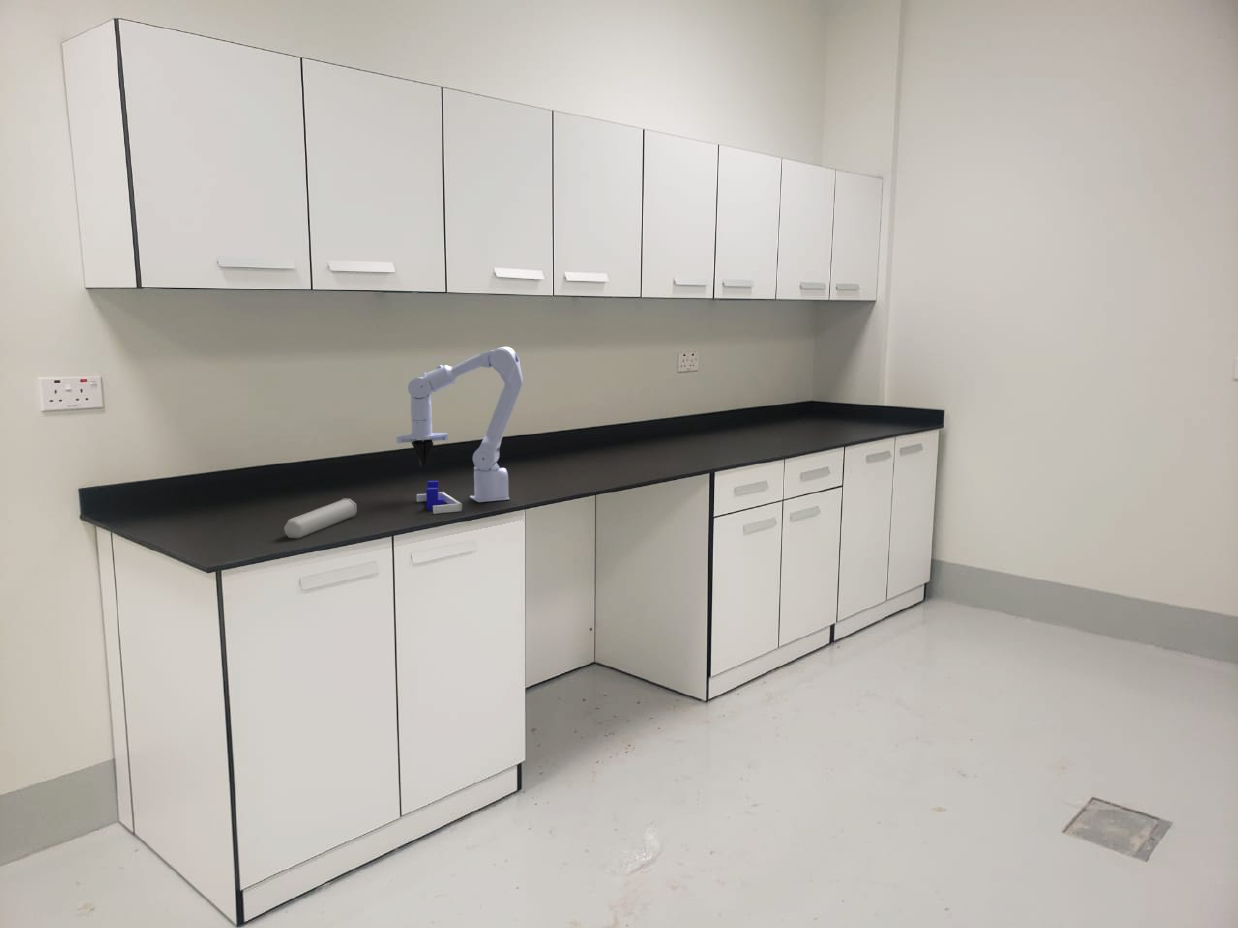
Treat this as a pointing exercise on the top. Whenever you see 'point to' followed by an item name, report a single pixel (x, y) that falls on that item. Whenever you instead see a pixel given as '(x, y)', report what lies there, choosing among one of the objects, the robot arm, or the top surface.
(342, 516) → the tube
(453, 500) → the bracket
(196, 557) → the top surface
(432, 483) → the cable clip
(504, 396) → the robot arm
